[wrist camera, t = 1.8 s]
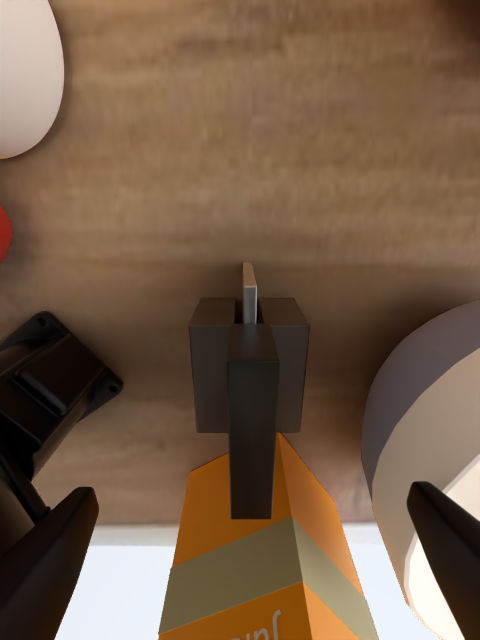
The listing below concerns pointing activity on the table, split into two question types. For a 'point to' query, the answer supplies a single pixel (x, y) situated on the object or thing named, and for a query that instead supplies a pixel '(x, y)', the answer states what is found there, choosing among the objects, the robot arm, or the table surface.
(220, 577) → the orange juice
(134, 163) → the table surface
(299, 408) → the knife block
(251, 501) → the knife
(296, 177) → the table surface
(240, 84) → the table surface
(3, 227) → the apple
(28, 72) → the beverage can
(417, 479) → the bowl
